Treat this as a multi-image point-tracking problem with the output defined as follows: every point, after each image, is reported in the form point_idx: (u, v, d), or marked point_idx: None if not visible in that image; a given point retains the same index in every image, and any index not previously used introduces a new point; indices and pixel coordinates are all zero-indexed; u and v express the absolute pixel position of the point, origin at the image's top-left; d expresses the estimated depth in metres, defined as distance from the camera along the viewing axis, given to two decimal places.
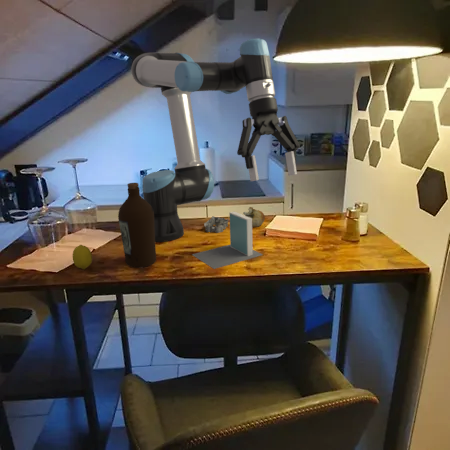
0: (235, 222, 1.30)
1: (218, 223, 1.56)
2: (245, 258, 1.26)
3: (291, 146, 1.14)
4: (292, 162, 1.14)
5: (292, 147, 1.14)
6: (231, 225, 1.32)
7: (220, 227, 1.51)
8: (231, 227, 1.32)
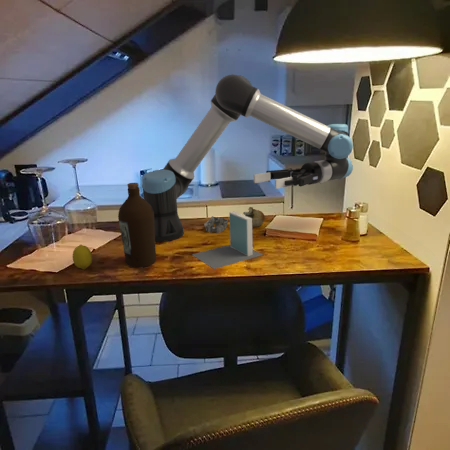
0: (235, 222, 1.30)
1: (218, 223, 1.56)
2: (245, 258, 1.26)
3: None
4: (263, 180, 1.36)
5: None
6: (231, 225, 1.32)
7: (220, 227, 1.52)
8: (231, 227, 1.32)
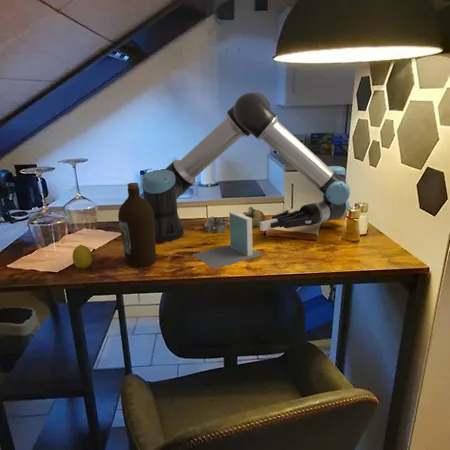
0: (235, 222, 1.30)
1: (218, 223, 1.57)
2: (245, 258, 1.26)
3: None
4: None
5: None
6: (231, 225, 1.32)
7: (221, 227, 1.52)
8: (231, 227, 1.32)
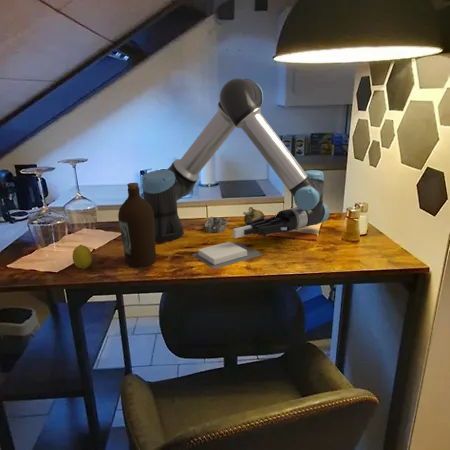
0: None
1: (218, 223, 1.57)
2: (245, 258, 1.26)
3: None
4: None
5: None
6: None
7: (221, 227, 1.52)
8: None
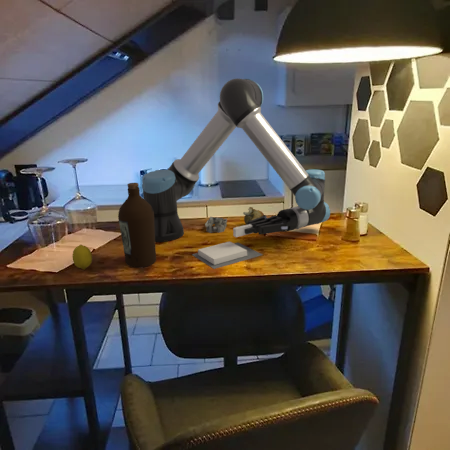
0: None
1: (218, 223, 1.57)
2: (245, 258, 1.26)
3: None
4: None
5: None
6: None
7: (222, 227, 1.52)
8: None
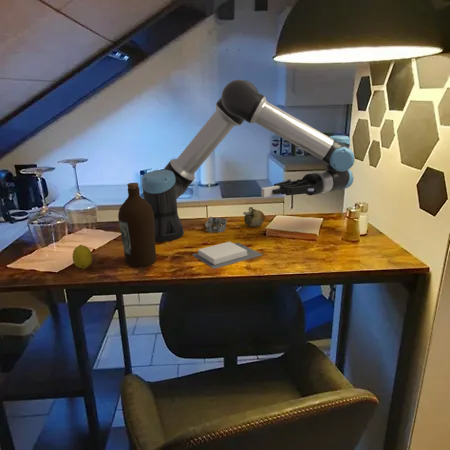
0: None
1: (218, 223, 1.57)
2: (245, 258, 1.26)
3: None
4: None
5: None
6: None
7: (222, 227, 1.52)
8: None
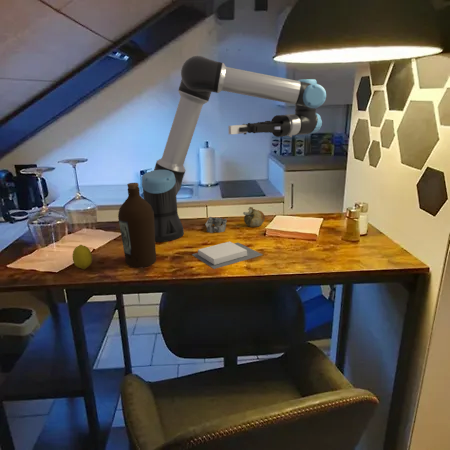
0: None
1: (218, 223, 1.57)
2: (245, 258, 1.26)
3: (248, 131, 1.40)
4: None
5: (247, 131, 1.40)
6: None
7: (222, 227, 1.52)
8: None
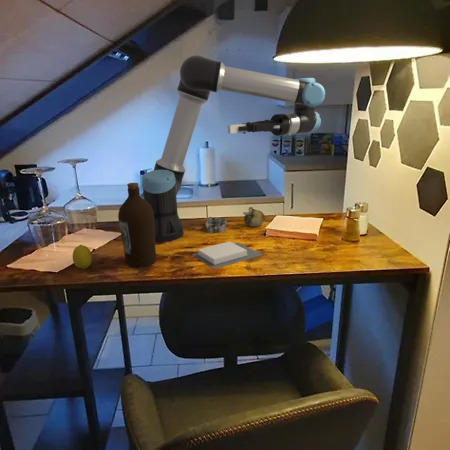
0: None
1: (217, 223, 1.57)
2: (245, 258, 1.26)
3: None
4: None
5: None
6: None
7: (222, 227, 1.52)
8: None
